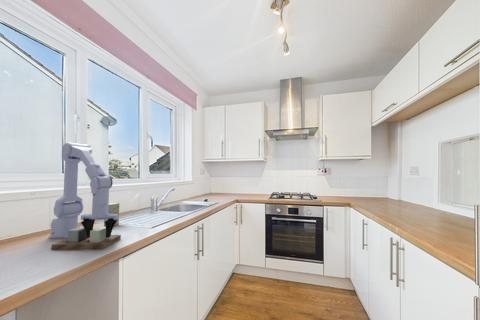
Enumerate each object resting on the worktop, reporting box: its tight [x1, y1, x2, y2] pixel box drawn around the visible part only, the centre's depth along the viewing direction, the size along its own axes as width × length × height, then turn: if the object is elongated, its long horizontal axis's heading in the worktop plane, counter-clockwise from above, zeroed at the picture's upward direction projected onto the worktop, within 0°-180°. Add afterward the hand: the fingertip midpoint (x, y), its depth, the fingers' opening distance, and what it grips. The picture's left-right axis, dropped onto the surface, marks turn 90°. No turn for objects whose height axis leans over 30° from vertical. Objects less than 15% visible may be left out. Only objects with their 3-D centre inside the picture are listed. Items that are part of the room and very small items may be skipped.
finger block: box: [90, 226, 107, 242], centre depth 86 cm, size 4×6×6 cm, turn 2°
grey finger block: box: [68, 226, 87, 243], centre depth 86 cm, size 4×6×6 cm, turn 2°
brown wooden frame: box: [51, 234, 122, 251], centre depth 86 cm, size 20×12×2 cm, turn 92°
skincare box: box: [103, 202, 120, 227], centre depth 116 cm, size 6×4×12 cm
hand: (99, 236), depth 86 cm, fingers open, 7 cm apart
